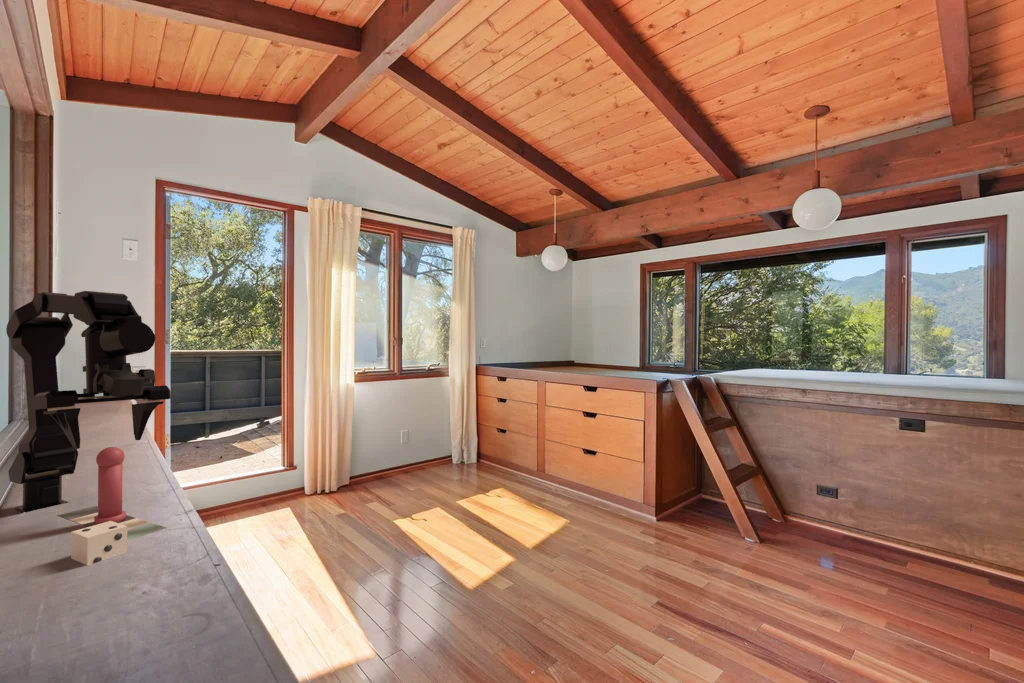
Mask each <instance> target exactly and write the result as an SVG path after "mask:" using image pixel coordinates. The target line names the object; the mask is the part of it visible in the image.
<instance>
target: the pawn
mask: <svg viewBox="0 0 1024 683" xmlns="http://www.w3.org/2000/svg"><path fill="white" fill-rule="evenodd" d="M95 457H96V458H95V462H96V464H97V468H98V469H97V471H98V473H97V506H98V515H97V516H95V517H94V525H98V524H101V523H105V522H108V521H113V522H116V523H119V522H122V521H124V520H125V519H126V515H127V514H126V513H127V512H126V511H125V510H123V470H124V469H123V468H124V467H123V462H124V460H125V459H126V458H125V457H126V456H125V453H124V450H123V449H121V448H119V447H117V446H110V447H106V448H103V449H102V450H100V451H99V452H98V454H97V455H96V456H95Z"/></svg>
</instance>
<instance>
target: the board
mask: <svg viewBox="0 0 1024 683" xmlns="http://www.w3.org/2000/svg"><path fill="white" fill-rule="evenodd" d="M97 515H98V505H94V506H89V507H85V508H82V509H77V510H74V511H68V512H65V513H62V514H61V513H60V514H57V515H56V516H57V517H60V518H63V519H65V520H69V521H72V522H73V523H77V524H79V525H82V526H85V527H90V526H94V517H95V516H97ZM119 524H122V525H125V526H127V541H130V540H133V539H136V538H139V537H143V536H146V535H149V534H153V533H155V532H158V531H162V530H165V529H167V526H163V525H160V524H156V523H154V522H153V523H152V522H149V521H148V520H147V521H146V520H144V519H140V518H137V517H134V516H132V515H128V514H126V519H125V520H124V521H122V522H119Z"/></svg>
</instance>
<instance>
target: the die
mask: <svg viewBox="0 0 1024 683" xmlns="http://www.w3.org/2000/svg"><path fill="white" fill-rule="evenodd" d="M70 534H71V537H70V539H71V540H70V541H71V542H70V543H71V544H70V546H71V547H70V550H71V551H70V556H71V557H70V559H72V560H74V561H76V562H78V563H81V564H83V565H86V566H90V565H93V564H96V563H99V562H101V561H104V560H107V559H111V558H114V557H115V556H116V557H117V556H119V555H122V554H126V553H127V552H128V540H127V526H125V525H122V524H119V523H116V522H113V521H108V522H105V523H101V524H98V525H94V526H90V527H88V526H86V527H84V528H81V529H77V530H73V531H71V533H70Z"/></svg>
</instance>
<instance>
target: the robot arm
mask: <svg viewBox="0 0 1024 683" xmlns="http://www.w3.org/2000/svg"><path fill="white" fill-rule="evenodd" d="M128 298H129V297H128V296H127V295H126V294H124V293H119V292H118V293H114V292H105V291H104V292H103V291H95V290H94V291H93V290H83V291H78V292H75V293H74V295H70V294H69V295H68V294H67V293H61V292H60V293H58V292H47V291H46V292H45V291H42V292H36V294H35V295H34V296H33V298H32V300H31V301H30V302H28V303H26V304H24V305H22V306H20V307H18V308H16V309H15V310H14V311H13V313H12V315H11V316H10V318H9V320H8V322H7V324H6V335H7V338H9V339H10V346H11V349H12V350H13V351H14V352H15V353H16V354H17V355H18V356H19V357H20V358H21V359H22V360H23V363H24V364H23V365H24V366H23V368H24V377H25V378H24V379H25V380H24V382H25V393H26V404H27V418H28V419H27V420H28V431H27V433H26V434H25V436H23V439H22V440H21V441H20V442H19V444H18V453H17V455H16V456H15V458H14V460H13V461H12V464H11V466H10V467H9V469H8V471H7V472H8V479H9V482H11V483H13V484H18V485H21V484H22V504H21V505H18V506H15V507H14V510H15V509H16V510H15V511H17V510H19V512H20V511H22V512H21V513H23V512H25V513H26V514H27V513H29V512H33V511H37V510H42V509H47V508H51V507H55V506H59V505H63V504H67V503H69V501H67V500H64V499H63V498H62V497H63V494H62V491H63V489H62V488H63V479H62V478H63V476H66V475H67V476H68V475H73V474H75V470H76V468H77V467H76V466H77V461H78V457H79V451H78V449H80V448H81V432H80V424H79V416H80V411H81V407H77V408H76V405H79V404H93V403H107V402H118V401H120V402H121V401H131V400H132V401H133V400H134V401H135V402H136V403H134V404H133V403H132V404H131V414H132V415H131V417H132V427H133V436H134V440H135V441H140V440H142V437H143V434H144V433H145V429H146V426H147V424H148V421H149V419H150V416H151V415H152V414H153V412H154V410H155V409H156V408H157V407H158V406H159V405H163V404H164V402H165V401H163V400H171V399H172V392H171V389H170V387H168V386H167V385H165V384H164V385H155V384H156V373H155V370H154V369H151V368H143V369H141V368H140V369H139V370H138V372H133V370H132V365H131V362H127V356H132V355H137V354H143V353H146V352H147V351H149V350H151V349H152V347H153V346H154V344H155V341H156V334H155V333H154V330H153V329H152V328H151V327H150V326H149V325H148V324H146V323H144V322H143V321H142V319H143V318H142V316H141V315H139V313H138V312H137V310H136V308H135V307H134V305H133V304H132V302H131V300H129V299H128ZM42 313H50V314H51V313H53V314H55V313H56V314H63V315H62V317H61V318H59V317H57V316H56V317H54V316H41V314H42ZM69 315H73V318H74V319H75V320H78V321H80V322H82V323H84V324H85V325H87V328H85V329H84V330H83V331H82V332H81V334H80V337H82V338H84V343H85V344H84V347H85V350H84V351H85V352H84V353H85V365H82V372H83V373H85V380H86V381H85V383H86V384H85V385H86V386H85V388H83V389H82V390H83V392H82V393H78V392H77V390H76V389H73V390H59V378H58V367H57V356H58V355H59V354H60V352H61V351H62V350H63V348H64V347H65V345H66V337H67V336H68V334H69V333H70V331H71V329H72V328H73V322H72V320H71V318H70V316H69ZM99 394H102V395H99ZM97 395H99V396H97ZM25 513H24V514H25Z"/></svg>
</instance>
